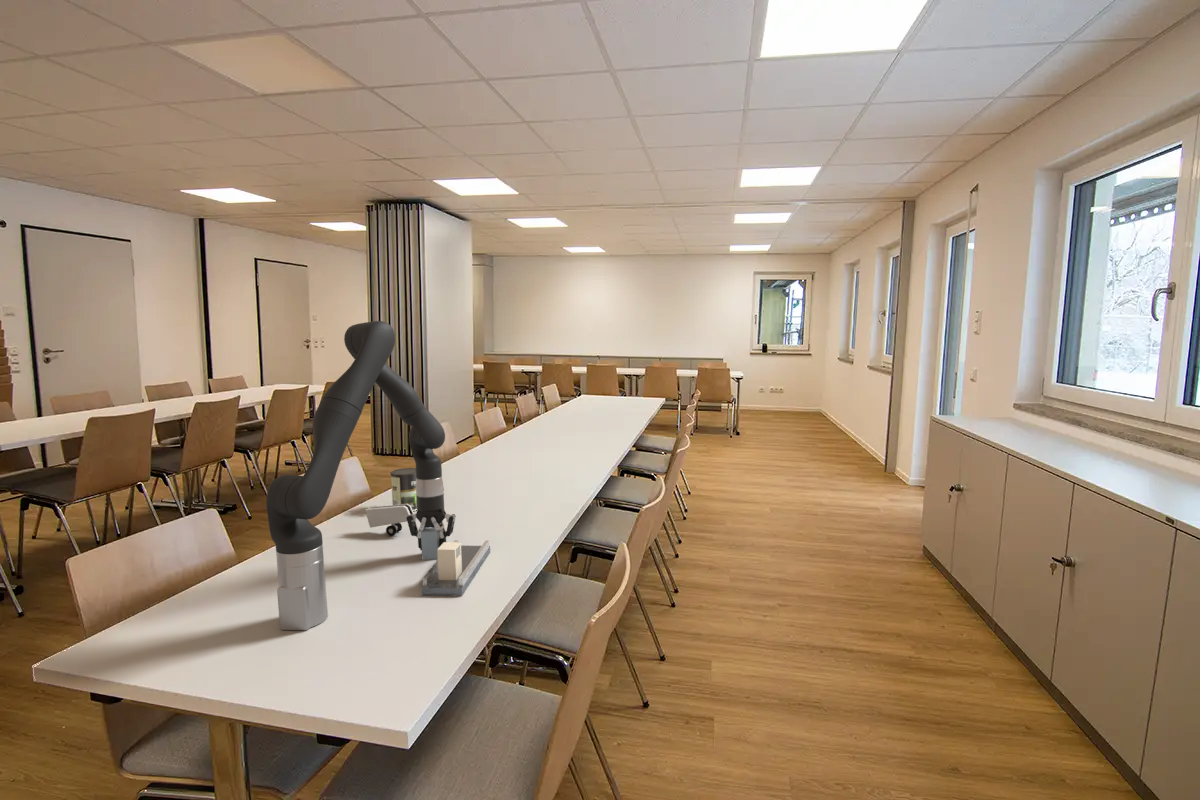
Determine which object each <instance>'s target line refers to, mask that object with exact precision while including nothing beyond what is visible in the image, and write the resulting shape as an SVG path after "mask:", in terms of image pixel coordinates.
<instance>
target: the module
mask: <svg viewBox="0 0 1200 800" xmlns="http://www.w3.org/2000/svg"><path fill="white" fill-rule="evenodd" d="M439 539H440V536H439V534H438V531H436V529H435V528H432V527H429V528H426V529H424V530H423V531H422V532H421V545H422V550H421V560H438V554H437V549H438V548H439V547H440V542H439Z"/></svg>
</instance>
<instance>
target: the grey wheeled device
mask: <svg viewBox="0 0 1200 800" xmlns="http://www.w3.org/2000/svg"><path fill="white" fill-rule="evenodd" d="M364 510H365V514H366V518H367V522H368V525H369V528H370V529H371V528H376V527H381V526H382V527H383V526H387V527H386V528H385V533H386V534H387V536H389V537H393V536H395V535H396V533H399V532H400V531H402V530H403V529H402V528H403V525H402V523H408V522H407V519H406V518H407V516H409V515H410V514H415V511H414V512H413V510H412V508H411V506H410V505H409V504H400V505H393V504H391V505H379V506H369V507H368V508H366V509H364Z"/></svg>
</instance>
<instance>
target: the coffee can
mask: <svg viewBox="0 0 1200 800" xmlns="http://www.w3.org/2000/svg"><path fill="white" fill-rule="evenodd" d="M390 480H391V481H390V485H391V498H392V499H391V500H392V501H391V502H392V505H400V504H409V505H410V506H411V508H412V510H413V511H414V512H417V511H416V510H417V500H416V467H405V468H398V469H394V470H392V471H390Z"/></svg>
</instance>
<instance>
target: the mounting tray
mask: <svg viewBox="0 0 1200 800" xmlns="http://www.w3.org/2000/svg"><path fill="white" fill-rule="evenodd" d="M453 542H459V540H458V539H455V540H454V541H453ZM490 554H491V545H490V540H487V539H486V540H484V542H483V543H482V545H461V558H462V573H461V574H460V576H459V577H458V579H457V580H439V575H438V560H437V561H436V562H435V563H434V564H433V565H432V567H431V568H429V570H428V571H427V572H426V573H425V575H424V576H423V577H422V587H421V596H428V597H430V596H434V597H436V596H437V597H463V596H464V594H465V592H466V591H467V590H468V588H469V586H470V584H471V583H472V581H473V580H474V578H476V575H477V574H478V572H479V570H480V569H481V568H482V566H483V564H484V563H485V561H486V560H487V558H488V557H489V555H490ZM480 567H481V568H480Z"/></svg>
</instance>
